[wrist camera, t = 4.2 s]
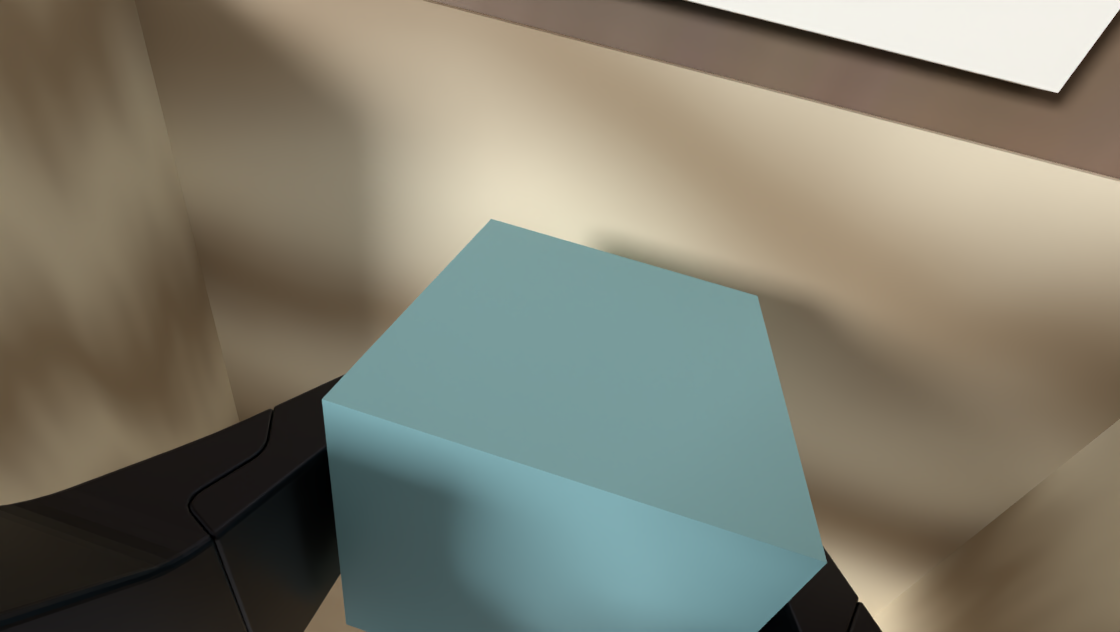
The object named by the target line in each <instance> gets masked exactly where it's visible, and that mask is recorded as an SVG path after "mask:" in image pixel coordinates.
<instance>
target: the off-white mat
mask: <svg viewBox="0 0 1120 632" xmlns="http://www.w3.org/2000/svg"><path fill="white" fill-rule="evenodd" d="M684 1H688V2H692V3H696V4H700V5H704V6H708V7H712V8H716V9H720V10H724V11H728V12H732V13H736V14H740V15H744V16H748V17H752V18H756V19H760V20H764V21H768V22H772V23H776V24H780V25H784V26H788V27H792V28H796V29H800V30H804V31H808V32H812V33H816V34H820V35H824V36H828V37H832V38H836V39H840V40H844V41H848V42H852V43H856V44H860V45H864V46H868V47H872V48H876V49H880V50H884V51H888V52H892V53H896V54H900V55H904V56H908V57H912V58H916V59H920V60H924V61H928V62H932V63H936V64H940V65H944V66H948V67H952V68H956V69H960V70H964V71H968V72H972V73H976V74H980V75H984V76H988V77H992V78H996V79H1000V80H1004V81H1008V82H1012V83H1016V84H1020V85H1024V86H1028V87H1032V88H1036V89H1041V90H1046V91H1051V92H1055V93H1058V92H1059V91H1060V90H1061V88H1062V87H1063V86H1064V84H1065V83H1066V81H1067V80H1068V79H1069V77H1070V76H1071V75H1072V73H1073V72H1074V71H1075V69H1076V68H1077V66H1078V65H1079V64H1080V62H1081V61H1082V60H1083V58H1084V57H1085V56H1086V54H1087V53H1088V52H1089V50H1090V49H1091V47H1092V46H1093V45H1094V43H1095V42H1096V41H1097V39H1098V38H1099V37H1100V35H1101V34H1102V32H1103V31H1104V30H1105V28H1106V27H1107V26H1108V24H1109V23H1110V22H1111V20H1112V19H1113V18H1114V16H1115V15H1116V13H1117V12H1118V11H1119V9H1120V0H684Z"/></svg>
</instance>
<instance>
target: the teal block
mask: <svg viewBox="0 0 1120 632" xmlns="http://www.w3.org/2000/svg"><path fill="white" fill-rule="evenodd" d="M322 406H323V415H324V424H325V434H326V443H327V452H328V461H329V470H330V480H331V489H332V498H333V507H334V517H335V526H336V535H337V544H338V554H339V563H340V572H341V581H342V591H343V600H344V609H345V618H346V624H347V625H350V626H352V627H355V628H358V629H361V630H364V631H367V632H758V631H759V630H760V629H761V628H762V627H763V626H764V625H765V624H766V623H767V622H768V621H769V620H770V619H771V618H772V617H773V616H774V615H775V614H776V613H777V612H778V611H779V610H780V609H781V608H782V607H783V606H784V605H785V604H786V603H787V602H788V601H789V600H790V599H791V598H792V597H793V596H794V595H795V594H796V593H797V592H798V591H799V590H800V589H801V588H802V587H803V586H804V585H805V584H806V583H807V582H808V581H809V580H810V579H811V578H812V577H813V576H814V575H815V574H816V573H817V572H818V571H819V570H820V569H821V568H822V567H823V566H824V565H826V564H827V560H826V556H825V552H824V549H823V545H822V541H821V537H820V533H819V529H818V526H817V522H816V518H815V514H814V510H813V506H812V503H811V499H810V495H809V491H808V487H807V483H806V480H805V476H804V472H803V468H802V464H801V461H800V457H799V453H798V449H797V445H796V441H795V438H794V434H793V430H792V426H791V422H790V418H789V415H788V411H787V407H786V403H785V399H784V395H783V392H782V388H781V384H780V380H779V376H778V372H777V369H776V365H775V361H774V357H773V353H772V350H771V346H770V342H769V338H768V334H767V330H766V327H765V323H764V319H763V315H762V311H761V307H760V304H759V300H758V296H756V295H753V294H749V293H746V292H742V291H739V290H736V289H732V288H729V287H725V286H722V285H718V284H715V283H711V282H708V281H704V280H701V279H698V278H694V277H691V276H687V275H684V274H680V273H677V272H673V271H670V270H666V269H663V268H659V267H656V266H653V265H649V264H646V263H642V262H639V261H635V260H632V259H628V258H625V257H621V256H618V255H615V254H611V253H608V252H604V251H601V250H597V249H594V248H590V247H587V246H583V245H580V244H577V243H573V242H570V241H566V240H563V239H559V238H556V237H552V236H549V235H545V234H542V233H539V232H535V231H532V230H528V229H525V228H521V227H518V226H514V225H511V224H507V223H504V222H501V221H497V220H494V219H490V221H489V222H488V223H487V224H486V225H485V226H484V227H483V228H482V229H481V230H480V231H479V232H478V233H477V234H476V235H475V237H474V238H473V239H472V240H471V241H470V242H469V243H468V244H467V245H466V246H465V247H464V248H463V249H462V250H461V251H460V253H459V254H458V255H457V256H456V257H455V258H454V259H453V260H452V261H451V262H450V263H449V264H448V265H447V266H446V267H445V269H444V270H443V271H442V272H441V273H440V274H439V275H438V276H437V277H436V278H435V279H434V280H433V281H432V282H431V283H430V284H429V286H428V287H427V288H426V289H425V290H424V291H423V292H422V293H421V294H420V295H419V296H418V297H417V298H416V299H415V300H414V302H413V303H412V304H411V305H410V306H409V307H408V308H407V309H406V310H405V311H404V312H403V313H402V314H401V315H400V316H399V318H398V319H397V320H396V321H395V322H394V323H393V324H392V325H391V326H390V327H389V328H388V329H387V330H386V331H385V332H384V333H383V335H382V336H381V337H380V338H379V339H378V340H377V341H376V342H375V343H374V344H373V345H372V346H371V347H370V348H369V349H368V351H367V352H366V353H365V354H364V355H363V356H362V357H361V358H360V359H359V360H358V361H357V362H356V363H355V364H354V365H353V367H352V368H351V369H350V370H349V371H348V372H347V373H346V374H345V375H344V376H343V377H342V378H341V379H340V380H339V381H338V383H337V384H336V385H335V386H334V387H333V388H332V389H331V390H330V391H329V392H328V393H327V394H326V395H325V396H324V397H323V398H322Z"/></svg>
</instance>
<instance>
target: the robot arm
mask: <svg viewBox="0 0 1120 632" xmlns="http://www.w3.org/2000/svg"><path fill="white" fill-rule="evenodd" d="M344 375H345V374H344ZM344 375H342V376H339V377H337V378H335V379H333V380H331V381H329V382H326V383H324V384H322V385H320V386H318V387H315V388H313V389H311V390H309V391H307V392H305V393H302V394H300V395H298V396H296V397H294V398H291V399H289V400H287V401H285V402H283V403H281V404H278V405H276V406H275V407H274V409H267V410H265V411H263V412H261V413H258V414H256V415H254V416H252V417H250V418H247V419H245V420H243V421H241V422H238V423H236V424H234V425H231V426H229V427H227V428H224V429H222V430H220V431H218V432H215V433H213V434H210V435H208V436H205V437H203V438H200V439H198V440H195V441H193V442H190V443H187V444H185V445H182V446H180V447H177V448H175V449H172V450H169V451H167V452H164V453H161V454H159V455H156V456H153V457H151V458H148V459H145V460H143V461H140V462H137V463H135V464H132V465H129V466H127V467H124V468H121V469H119V470H116V471H113V472H110V473H108V474H105V475H102V476H100V477H97V478H94V479H92V480H89V481H86V482H84V483H81V484H78V485H76V486H73V487H70V488H67V489H64V490H61V491H58V492H56V493H53V494H49V495H46V496H42V497H39V498H35V499H31V500H27V501H22V502H18V503H13V504H7V505H0V632H304V631H305V629H306V628H307V626H308V625H309V623H310V621H311V620H312V618H313V617H314V615H315V613H316V612H317V610H318V609H319V607H320V606H321V604H322V602H323V601H324V599H325V598H326V596H327V595H328V593H329V591H330V590H331V588H332V587H333V585H334V583H335V582H336V580H337V579H338V577H339V576H340V574H341V572H340V563H339V554H338V544H337V535H336V526H335V517H334V507H333V498H332V489H331V480H330V470H329V461H328V452H327V443H326V434H325V424H324V415H323V406H322V398H323V397H324V396H325V395H326V394H327V393H328V392H329V391H330V390H331V389H332V388H333V387H334V386H335V385H336V384H337V383H338V381H339V380H340V379H341V378H342V377H343V376H344ZM823 549H824V552H825V556H826V560H827V564H826V565H824V566H823V567H822V568H821V569H820V570H819V571H818V572H817V573H816V574H815V575H814V576H813V577H812V578H811V579H810V580H809V581H808V582H807V583H806V584H805V585H804V586H803V587H802V588H801V589H800V590H799V591H798V592H797V593H796V594H795V595H794V596H793V597H792V598H791V599H790V600H789V601H788V602H787V603H786V604H785V605H784V606H783V607H782V608H781V609H780V610H779V611H778V612H777V613H776V614H775V615H774V616H773V617H772V618H771V619H770V620H769V621H768V622H767V623H766V624H765V625H764V626H763V627H762V628H761V629H760V630H759V631H758V632H882V630H881V629H880V627H879V626H878V625H877V623H876V622H875V620H874V619H873V617H872V616H871V614H870V613H869V611H868V610H867V609H866V607H865V606H864V604H863V603H862V602H858V600H859V598H858V596H857V594H856V593H855V591H854V590H853V588H852V587H851V586H850V584H849V583H848V581H847V580H846V578H845V577H844V575H843V574H842V573H841V571H840V570H839V568H838V567H837V565H836V564H835V562H834V561H833V559H832V558H831V557H830V555H829V554H828V552H827V551H826V549H825V548H824V546H823Z"/></svg>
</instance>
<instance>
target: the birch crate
mask: <svg viewBox="0 0 1120 632" xmlns="http://www.w3.org/2000/svg"><path fill="white" fill-rule="evenodd" d="M490 219H494V220H497V221H501V222H504V223H507V224H511V225H514V226H518V227H521V228H525V229H528V230H532V231H535V232H539V233H542V234H545V235H549V236H552V237H556V238H559V239H563V240H566V241H570V242H573V243H577V244H580V245H583V246H587V247H590V248H594V249H597V250H601V251H604V252H608V253H611V254H615V255H618V256H621V257H625V258H628V259H632V260H635V261H639V262H642V263H646V264H649V265H653V266H656V267H659V268H663V269H666V270H670V271H673V272H677V273H680V274H684V275H687V276H691V277H694V278H698V279H701V280H704V281H708V282H711V283H715V284H718V285H722V286H725V287H729V288H732V289H736V290H739V291H742V292H746V293H749V294H753V295H756V296H758V300H759V304H760V307H761V311H762V315H763V319H764V323H765V327H766V330H767V334H768V338H769V342H770V346H771V350H772V353H773V357H774V361H775V365H776V369H777V372H778V376H779V380H780V384H781V388H782V392H783V395H784V399H785V403H786V407H787V411H788V415H789V418H790V422H791V426H792V430H793V434H794V438H795V441H796V445H797V449H798V453H799V457H800V461H801V464H802V468H803V472H804V476H805V480H806V483H807V487H808V491H809V495H810V499H811V503H812V506H813V510H814V514H815V518H816V522H817V526H818V529H819V533H820V537H821V541H822V545H823V546H824V548H825V549H826V551H827V552H828V554H829V555H830V557H831V558H832V559H833V561H834V562H835V564H836V565H837V567H838V568H839V570H840V571H841V573H842V574H843V575H844V577H845V578H846V580H847V581H848V583H849V584H850V586H851V587H852V588H853V590H854V591H855V593H856V594H857V596H858V598H859V600H858V602H862V603H863V604H864V606H865V607H866V609H867V610H868V611H869V613H870V614H871V616H872V617H873V619H874V620H875V622H876V623H877V625H878V626H879V627H880V629H881V630H882V632H1120V179H1117V178H1113V177H1109V176H1105V175H1101V174H1098V173H1094V172H1090V171H1086V170H1082V169H1078V168H1074V167H1071V166H1067V165H1063V164H1059V163H1055V162H1051V161H1047V160H1044V159H1040V158H1036V157H1032V156H1028V155H1024V154H1021V153H1017V152H1013V151H1009V150H1005V149H1001V148H997V147H994V146H990V145H986V144H982V143H978V142H974V141H970V140H967V139H963V138H959V137H955V136H951V135H947V134H943V133H940V132H936V131H932V130H928V129H924V128H920V127H917V126H913V125H909V124H905V123H901V122H897V121H893V120H890V119H886V118H882V117H878V116H874V115H870V114H866V113H863V112H859V111H855V110H851V109H847V108H843V107H840V106H836V105H832V104H828V103H824V102H820V101H816V100H813V99H809V98H805V97H801V96H797V95H793V94H789V93H786V92H782V91H778V90H774V89H770V88H766V87H763V86H759V85H755V84H751V83H747V82H743V81H739V80H736V79H732V78H728V77H724V76H720V75H716V74H712V73H709V72H705V71H701V70H697V69H693V68H689V67H686V66H682V65H678V64H674V63H670V62H666V61H662V60H659V59H655V58H651V57H647V56H643V55H639V54H635V53H632V52H628V51H624V50H620V49H616V48H612V47H609V46H605V45H601V44H597V43H593V42H589V41H585V40H582V39H578V38H574V37H570V36H566V35H562V34H558V33H555V32H551V31H547V30H543V29H539V28H535V27H532V26H528V25H524V24H520V23H516V22H512V21H508V20H505V19H501V18H497V17H493V16H489V15H485V14H481V13H478V12H474V11H470V10H466V9H462V8H458V7H455V6H451V5H447V4H443V3H439V2H435V1H431V0H0V505H7V504H13V503H18V502H22V501H27V500H31V499H35V498H39V497H42V496H46V495H49V494H53V493H56V492H58V491H61V490H64V489H67V488H70V487H73V486H76V485H78V484H81V483H84V482H86V481H89V480H92V479H94V478H97V477H100V476H102V475H105V474H108V473H110V472H113V471H116V470H119V469H121V468H124V467H127V466H129V465H132V464H135V463H137V462H140V461H143V460H145V459H148V458H151V457H153V456H156V455H159V454H161V453H164V452H167V451H169V450H172V449H175V448H177V447H180V446H182V445H185V444H187V443H190V442H193V441H195V440H198V439H200V438H203V437H205V436H208V435H210V434H213V433H215V432H218V431H220V430H222V429H224V428H227V427H229V426H231V425H234V424H236V423H238V422H241V421H243V420H245V419H247V418H250V417H252V416H254V415H256V414H258V413H261V412H263V411H265V410H267V409H274V407H275V406H276V405H278V404H281V403H283V402H285V401H287V400H289V399H291V398H294V397H296V396H298V395H300V394H302V393H305V392H307V391H309V390H311V389H313V388H315V387H318V386H320V385H322V384H324V383H326V382H329V381H331V380H333V379H335V378H337V377H339V376H342V375H344V374H346V373H347V372H348V371H349V370H350V369H351V368H352V367H353V365H354V364H355V363H356V362H357V361H358V360H359V359H360V358H361V357H362V356H363V355H364V354H365V353H366V352H367V351H368V349H369V348H370V347H371V346H372V345H373V344H374V343H375V342H376V341H377V340H378V339H379V338H380V337H381V336H382V335H383V333H384V332H385V331H386V330H387V329H388V328H389V327H390V326H391V325H392V324H393V323H394V322H395V321H396V320H397V319H398V318H399V316H400V315H401V314H402V313H403V312H404V311H405V310H406V309H407V308H408V307H409V306H410V305H411V304H412V303H413V302H414V300H415V299H416V298H417V297H418V296H419V295H420V294H421V293H422V292H423V291H424V290H425V289H426V288H427V287H428V286H429V284H430V283H431V282H432V281H433V280H434V279H435V278H436V277H437V276H438V275H439V274H440V273H441V272H442V271H443V270H444V269H445V267H446V266H447V265H448V264H449V263H450V262H451V261H452V260H453V259H454V258H455V257H456V256H457V255H458V254H459V253H460V251H461V250H462V249H463V248H464V247H465V246H466V245H467V244H468V243H469V242H470V241H471V240H472V239H473V238H474V237H475V235H476V234H477V233H478V232H479V231H480V230H481V229H482V228H483V227H484V226H485V225H486V224H487V223H488V222H489V221H490ZM304 632H367V631H364V630H361V629H358V628H355V627H352V626H350V625H347V624H346V618H345V609H344V600H343V591H342V581H341V574H340V576H339V577H338V579H337V580H336V582H335V583H334V585H333V587H332V588H331V590H330V591H329V593H328V595H327V596H326V598H325V599H324V601H323V602H322V604H321V606H320V607H319V609H318V610H317V612H316V613H315V615H314V617H313V618H312V620H311V621H310V623H309V625H308V626H307V628H306V629H305V631H304Z"/></svg>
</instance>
